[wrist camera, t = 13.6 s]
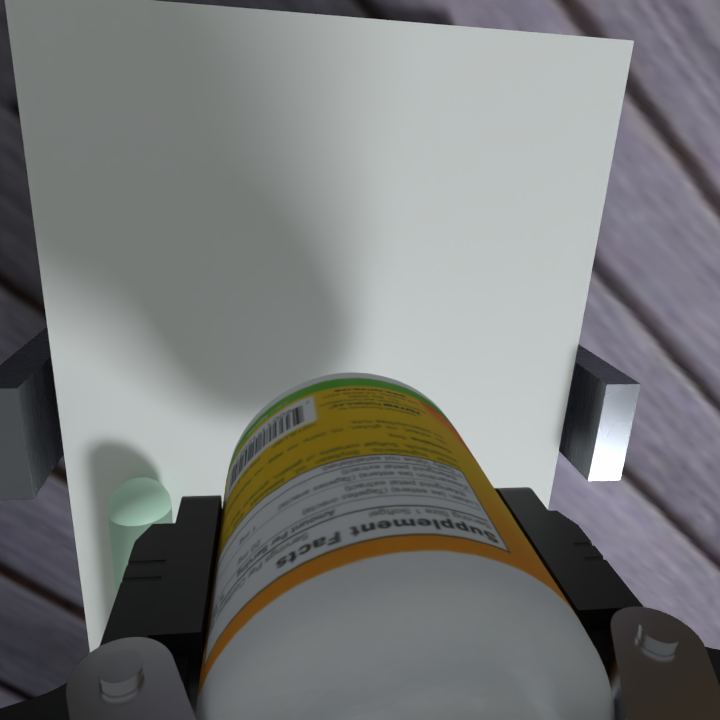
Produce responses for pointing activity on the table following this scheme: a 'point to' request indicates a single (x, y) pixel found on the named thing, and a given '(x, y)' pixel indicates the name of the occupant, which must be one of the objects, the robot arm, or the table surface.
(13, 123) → the table surface
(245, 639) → the supplement bottle
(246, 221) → the levelling plate
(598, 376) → the base
